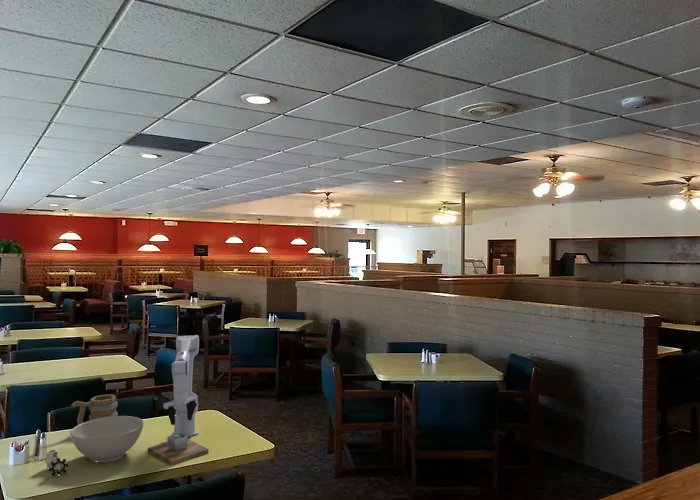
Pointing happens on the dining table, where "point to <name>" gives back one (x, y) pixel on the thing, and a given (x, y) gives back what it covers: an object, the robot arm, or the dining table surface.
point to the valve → (55, 462)
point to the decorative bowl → (107, 437)
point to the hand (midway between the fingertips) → (181, 422)
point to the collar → (177, 442)
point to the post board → (177, 456)
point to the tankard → (98, 407)
